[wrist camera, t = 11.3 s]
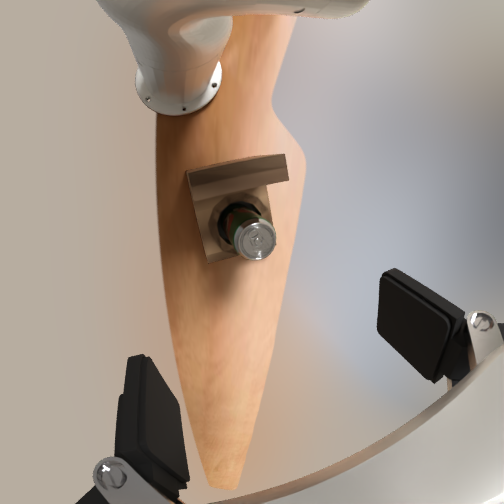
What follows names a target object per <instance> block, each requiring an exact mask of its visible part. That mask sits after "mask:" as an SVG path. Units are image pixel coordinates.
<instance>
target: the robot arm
mask: <svg viewBox="0 0 504 504" xmlns="http://www.w3.org/2000/svg"><path fill="white" fill-rule="evenodd" d="M96 1H97V2H98V4H99V5H100V6H101V8H102V9H103V10H104V11H105V12H106V13H107V15H108V16H109V17H110V18H111V19H112V20H113V21H115V22H116V23H117V24H118V25H119V26H120V27H121V28H122V30H123V31H124V33H125V35H126V36H127V39H128V41H129V44H130V46H131V49H132V51H133V54H134V56H135V59H136V62H137V64H138V69H137V72H136V77H135V86H136V90H137V93H138V95H139V97H140V99H141V100H142V102H143V103H144V104H145V105H146V106H147V107H148V108H150V109H151V110H153V111H155V112H157V113H160V114H162V115H168V116H181V115H186V114H190V113H192V112H195V111H197V110H199V109H201V108H203V107H204V106H205V105H206V104H208V103H209V102H210V101H211V100H212V98H213V97H214V96H215V94H216V93H217V91H218V89H219V87H220V84H221V80H222V69H221V64H220V62H219V60H220V57H221V55H222V53H223V51H224V48H225V46H226V44H227V42H228V39H229V37H230V34H231V31H232V26H233V19H232V16H242V15H246V14H267V15H289V16H301V17H311V18H323V19H338V18H344V17H348V16H351V15H353V14H355V13H357V12H359V11H360V10H361V9H362V8H364V6H366V5H367V3H368V2H369V1H370V0H96ZM213 85H214V86H215V88H213V87H212V86H213ZM148 99H150V102H147V100H148ZM183 108H185V109H186V111H183V110H182V109H183ZM379 285H380V286H379V305H378V318H377V331H378V333H379V334H380V335H381V336H382V337H383V338H384V339H385V340H386V341H387V342H388V343H389V344H390V345H391V346H392V347H393V348H394V349H395V350H396V351H398V353H399V354H401V355H402V356H403V357H404V358H405V359H406V360H407V361H408V362H409V363H410V364H411V365H412V366H413V367H414V368H415V369H416V370H417V371H418V372H419V373H420V374H421V375H422V376H423V377H424V378H426V379H427V380H431V381H432V382H433V383H434V384H435V383H436V382H437V381H439V380H440V379H441V378H442V377H443V375H445V376H446V377H447V389H448V392H447V393H446V394H444V395H443V396H442V397H441V398H440V399H438V400H437V401H436V402H434V403H433V404H432V405H431V406H429V407H428V408H427V409H425V410H424V411H423V412H421V413H420V414H419V415H417V416H416V417H415V418H413V419H411V420H410V421H409V422H407V423H406V424H404V425H403V426H401V427H400V428H398V429H397V430H395V431H394V432H392V433H390V434H389V435H387V436H386V437H384V438H382V439H381V440H379V441H377V442H375V443H374V444H372V445H370V446H369V447H367V448H365V449H363V450H361V451H359V452H357V453H355V454H353V455H352V456H350V457H348V458H346V459H344V460H342V461H340V462H337V463H335V464H333V465H331V466H329V467H326V468H324V469H322V470H319V471H317V472H315V473H312V474H310V475H307V476H305V477H302V478H299V479H297V480H294V481H291V482H288V483H286V484H283V485H280V486H277V487H273V488H270V489H267V490H263V491H260V492H256V493H253V494H249V495H245V496H241V497H237V498H233V499H229V500H224V501H219V502H214V503H209V504H504V323H497V321H496V319H495V318H494V317H493V316H492V315H491V314H490V313H488V312H485V311H481V310H477V311H473V312H471V313H470V314H469V315H468V317H467V320H466V319H465V318H464V315H465V312H464V311H463V310H461V309H460V308H458V307H457V306H455V305H454V304H452V303H451V302H449V301H448V300H446V299H445V298H443V297H441V296H440V295H438V294H437V293H435V292H434V291H432V290H431V289H429V288H427V287H426V286H424V285H423V284H421V283H420V282H418V281H416V280H415V279H413V278H411V277H410V276H408V275H406V274H405V273H403V272H402V271H400V270H398V269H396V268H393V269H391V270H388V271H386V272H384V273H383V274H382V277H381V278H380V284H379ZM93 481H94V483H95V486H94V487H93V488H92V489H91V490H90V491H89V492H87V493H86V494H85V495H84V496H83V497H82V498H81V499H80V500H79V501H78V502H77V503H76V504H185V503H184V502H183V501H181V500H180V499H179V498H178V497H179V491H178V490H180V489H187V484H186V482H189V481H190V476H189V470H188V464H187V459H186V452H185V446H184V438H183V431H182V422H181V414H180V406H179V403H178V401H177V399H176V398H175V396H174V395H173V393H172V392H171V390H170V389H169V387H168V386H167V384H166V382H165V381H164V379H163V378H162V376H161V374H160V373H159V371H158V369H157V368H156V366H155V364H154V363H153V361H152V359H151V358H150V357H145V355H144V354H140V355H136V356H131V357H129V358H128V361H127V368H126V376H125V384H124V393H123V394H121V395H120V396H119V401H118V411H117V421H116V434H115V454H114V457H107V458H104V459H103V460H101V461H100V462H99V463H98V464H97V465H96V466H95V469H94V471H93Z"/></svg>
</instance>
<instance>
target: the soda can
mask: <svg viewBox="0 0 504 504" xmlns="http://www.w3.org/2000/svg"><path fill="white" fill-rule="evenodd" d="M220 224H221V227H222V229H223V231H224V232H225V234H226V236H227V237H228V239H229V240H230V242H231V244H232V245H233V247H234V248H235V250H236V251H237V253H238V254H239V255H240V256H241V257H243V258H245V259H248V260H260V259H263V258H265V257H267V256H268V255H269V254H270V253H271V252H272V251H273V249H274V247H275V244H276V232H275V229H274V227H273V226H272V224H271V223H270V222H269V221H267V220H266V219H264V218H263V217H261V216H260V215H258V214H257V213H256V212H254V211H253V210H251V209H250V208H248V207H247V206H245V205H243V204H233V205H230V206H228V207H227V208H226V209H225V210H224V211H223V213H222V215H221V218H220Z"/></svg>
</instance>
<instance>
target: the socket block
mask: <svg viewBox="0 0 504 504" xmlns="http://www.w3.org/2000/svg"><path fill="white" fill-rule="evenodd" d="M186 174H187V179H188V183H189V188H190V192H191V197H192V201H193V205H194V210H195V214H196V218H197V222H198V226H199V230H200V234H201V238H202V242H203V246H204V250H205V254H206V258H207V261H208V263H212V262H216V261H219V260H223V259H227V258H231V257H234V256H238V255H239V254H238V253H237V251H236V250H235V248H234V247H233V245H232V244H231V242H230V240H229V239H228V237H227V236H226V234H225V232H224V231H223V229H222V227H221V224H220V218H221V215H222V213H223V211H224V210H225V209H226V208H227V207H228V206H230V205H233V204H243V205H245V206H247V207H248V208H250V209H251V210H253V211H254V212H256V213H257V214H258V215H260V216H261V217H263V218H264V219H266V220H267V221H269V222H270V223H271V224H272V226H273V222H272V216H271V210H270V204H269V198H268V192H267V187H266V185H268V184H273V183H278V182H283V181H289V177H288V170H287V164H286V158H285V154H275V155H262V156H253V157H247V158H242V159H237V160H232V161H227V162H222V163H218V164H213V165H209V166H204V167H200V168H196V169H191V170H187V171H186ZM275 245H276V244H275Z"/></svg>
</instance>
